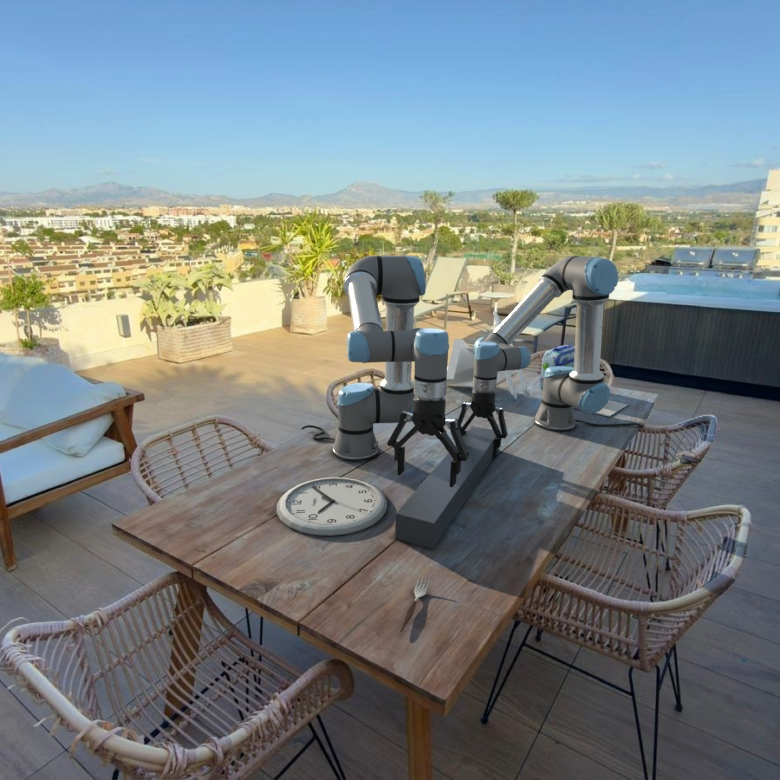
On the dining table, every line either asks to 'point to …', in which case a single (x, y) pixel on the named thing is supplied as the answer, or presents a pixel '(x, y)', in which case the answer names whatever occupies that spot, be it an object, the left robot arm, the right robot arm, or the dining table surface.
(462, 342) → the white plastic object
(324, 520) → the wall clock
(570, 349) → the lunch box
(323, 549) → the dining table surface
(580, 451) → the dining table surface
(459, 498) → the wide beam
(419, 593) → the fork
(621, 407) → the invitation card
